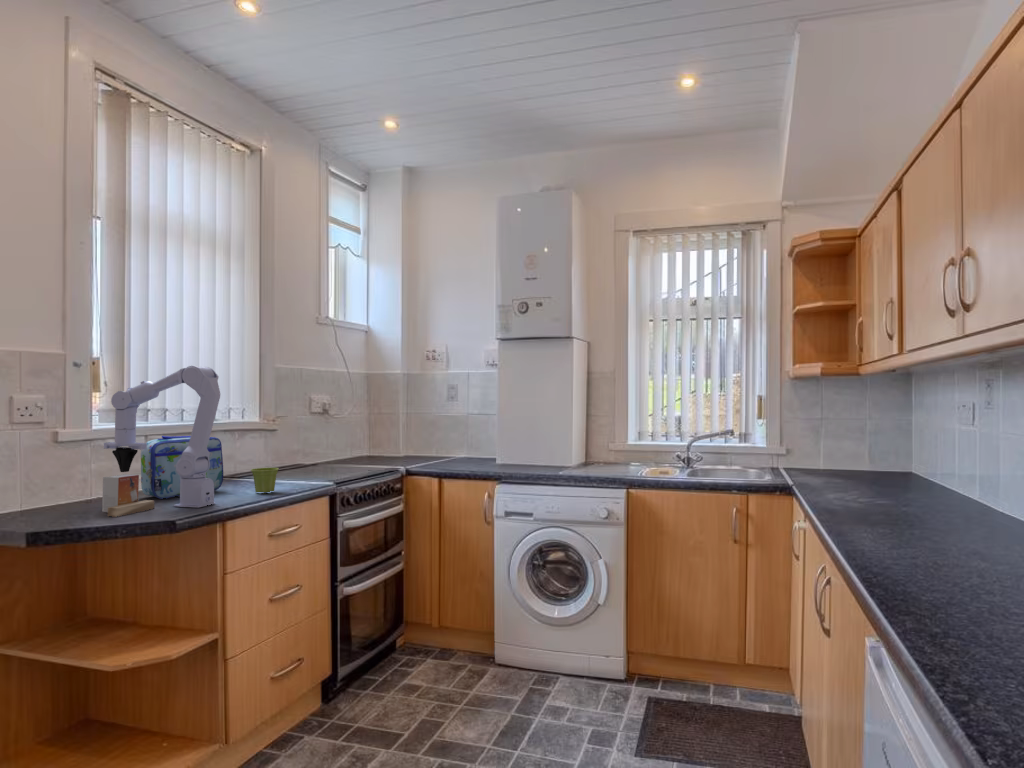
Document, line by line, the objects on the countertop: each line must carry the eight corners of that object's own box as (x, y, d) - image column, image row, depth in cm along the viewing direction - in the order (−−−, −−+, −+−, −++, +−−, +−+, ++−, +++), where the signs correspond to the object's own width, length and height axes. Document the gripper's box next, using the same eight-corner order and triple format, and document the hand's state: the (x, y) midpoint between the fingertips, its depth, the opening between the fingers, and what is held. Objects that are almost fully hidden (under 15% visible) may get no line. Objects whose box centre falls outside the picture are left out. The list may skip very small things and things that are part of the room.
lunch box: (152, 501, 209) (153, 437, 209) (136, 498, 215) (137, 436, 215) (226, 491, 230) (227, 434, 231) (209, 489, 236) (210, 433, 237)
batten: (154, 508, 194) (154, 500, 194) (116, 516, 181) (116, 508, 181) (146, 508, 195) (146, 500, 195) (107, 516, 181) (107, 507, 181)
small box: (117, 513, 187) (118, 477, 187) (101, 512, 188) (102, 476, 188) (138, 508, 194) (139, 474, 195) (123, 507, 196) (124, 473, 196)
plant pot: (244, 494, 225) (244, 469, 225) (264, 490, 234) (264, 467, 234) (265, 495, 221) (265, 470, 222) (284, 492, 230) (284, 468, 230)
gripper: (95, 429, 200) (95, 472, 200) (134, 430, 197) (133, 473, 196) (114, 428, 207) (113, 470, 206) (152, 429, 203) (151, 471, 203)
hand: (124, 471), depth 202 cm, fingers closed
